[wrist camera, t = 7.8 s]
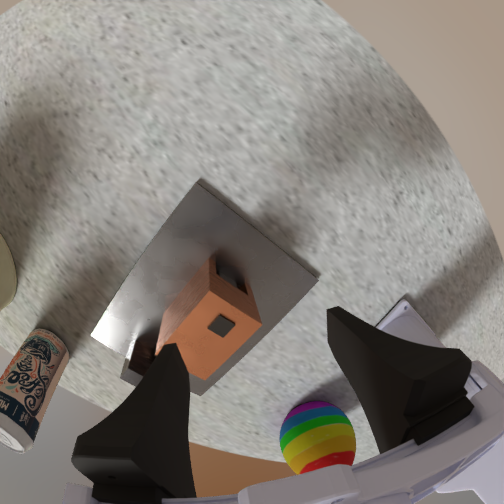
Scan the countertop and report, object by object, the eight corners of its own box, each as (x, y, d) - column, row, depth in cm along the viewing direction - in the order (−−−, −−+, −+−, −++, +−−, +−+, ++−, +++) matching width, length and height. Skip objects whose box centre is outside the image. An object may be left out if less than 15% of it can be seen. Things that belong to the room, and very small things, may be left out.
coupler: (317, 278, 23) (335, 303, 19) (200, 393, 26) (201, 424, 22) (196, 182, 19) (193, 191, 15) (91, 332, 22) (78, 361, 18)
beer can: (70, 334, 22) (20, 435, 11) (72, 369, 23) (36, 464, 12) (29, 319, 21) (-31, 406, 10) (34, 354, 22) (-11, 439, 11)
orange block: (250, 287, 22) (262, 326, 17) (204, 338, 23) (205, 382, 18) (208, 257, 21) (209, 291, 16) (163, 313, 22) (154, 355, 17)
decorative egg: (269, 436, 31) (286, 503, 21) (279, 396, 28) (303, 475, 19) (330, 428, 32) (355, 487, 23) (348, 388, 29) (384, 454, 20)
